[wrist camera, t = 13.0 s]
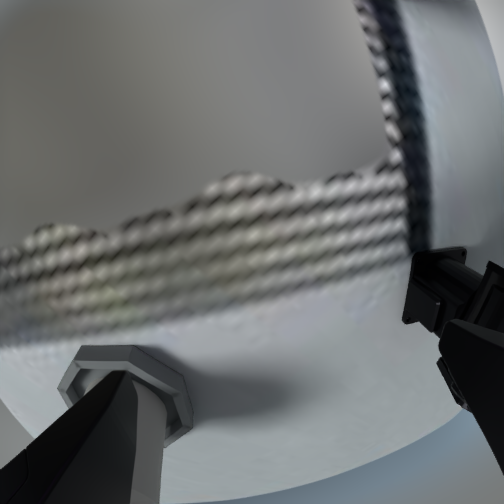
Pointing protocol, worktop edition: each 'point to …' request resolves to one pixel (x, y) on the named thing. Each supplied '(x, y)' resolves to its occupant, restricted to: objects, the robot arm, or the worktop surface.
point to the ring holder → (141, 370)
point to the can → (147, 445)
